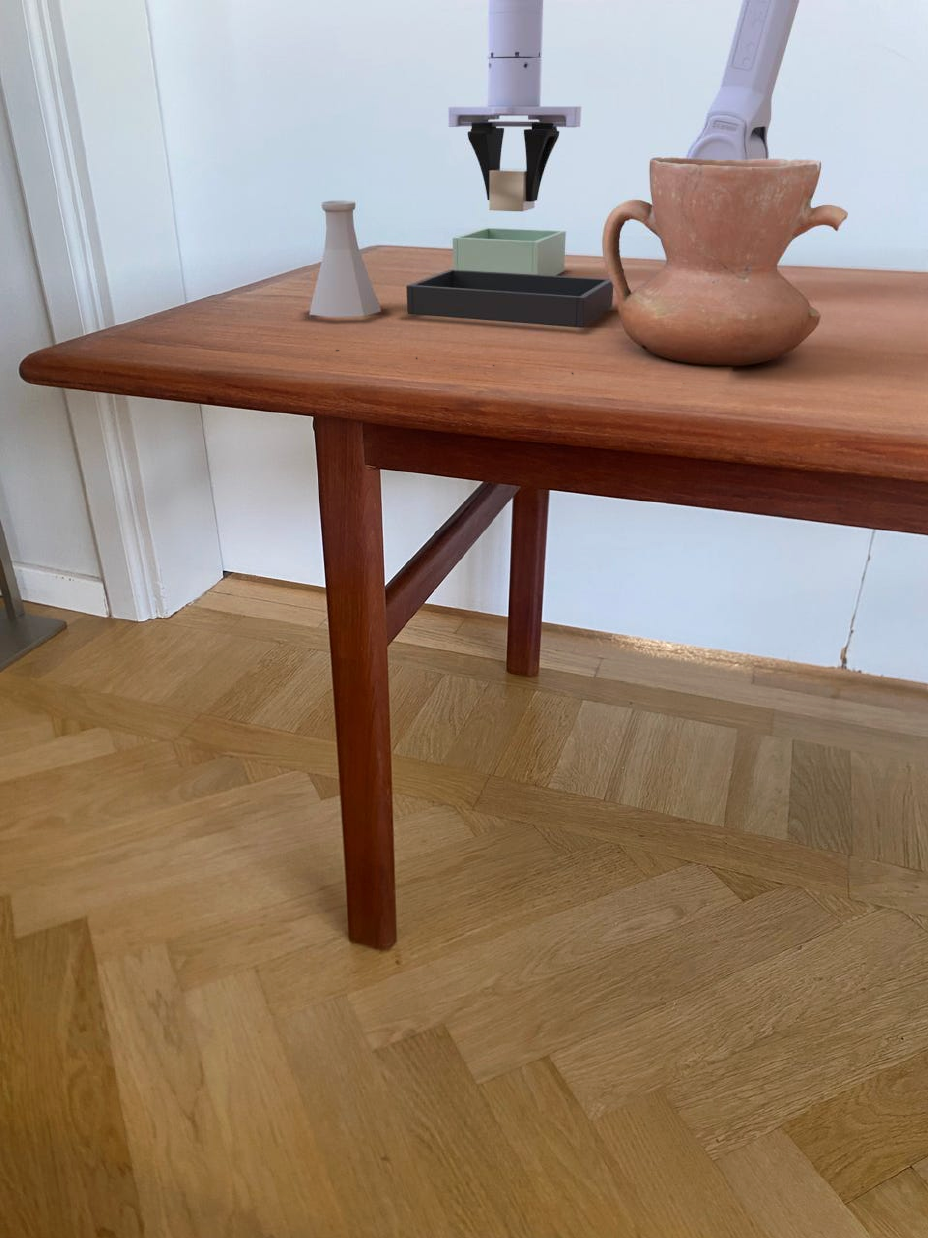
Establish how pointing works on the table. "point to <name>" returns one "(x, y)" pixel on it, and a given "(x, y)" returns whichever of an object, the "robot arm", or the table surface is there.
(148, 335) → the table surface
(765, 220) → the ceramic jug
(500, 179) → the block
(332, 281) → the flask
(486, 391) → the table surface
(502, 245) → the bin
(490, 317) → the pan
